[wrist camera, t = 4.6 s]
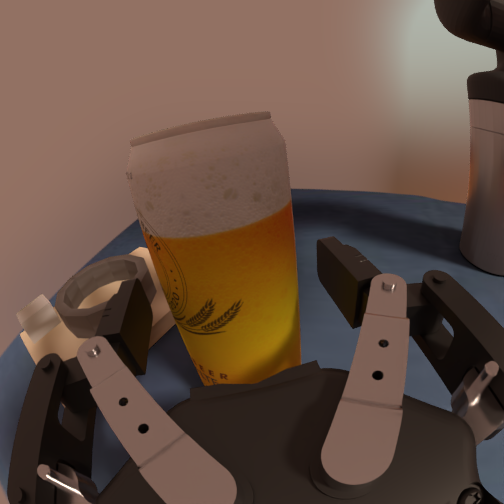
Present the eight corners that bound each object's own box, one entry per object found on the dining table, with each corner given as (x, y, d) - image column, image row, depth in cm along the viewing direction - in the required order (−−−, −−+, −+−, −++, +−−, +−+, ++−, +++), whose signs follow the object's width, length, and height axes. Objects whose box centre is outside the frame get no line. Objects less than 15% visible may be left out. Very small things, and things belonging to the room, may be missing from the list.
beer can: (199, 363, 18) (126, 142, 11) (277, 335, 20) (247, 115, 12) (224, 434, 13) (107, 145, 6) (319, 395, 14) (314, 107, 7)
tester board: (143, 256, 35) (134, 230, 33) (225, 275, 28) (218, 240, 26) (26, 344, 20) (8, 316, 18) (76, 418, 13) (43, 385, 11)
